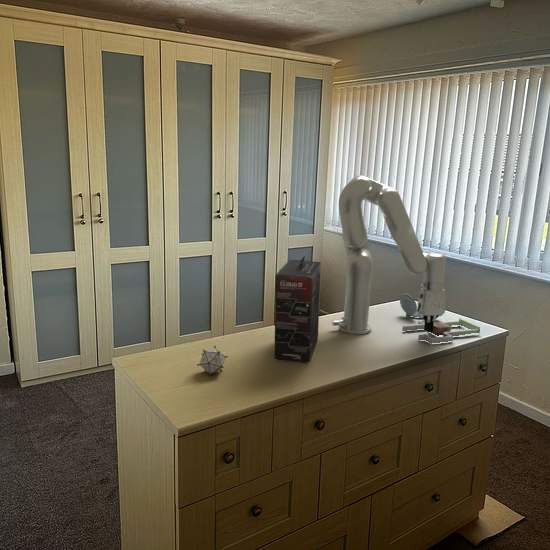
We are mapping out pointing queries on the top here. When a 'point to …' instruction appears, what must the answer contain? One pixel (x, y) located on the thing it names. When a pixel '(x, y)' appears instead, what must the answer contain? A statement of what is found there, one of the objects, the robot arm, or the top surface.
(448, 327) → the walnut block
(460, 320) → the box
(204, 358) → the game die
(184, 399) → the top surface
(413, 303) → the pocket watch
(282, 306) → the headset box
